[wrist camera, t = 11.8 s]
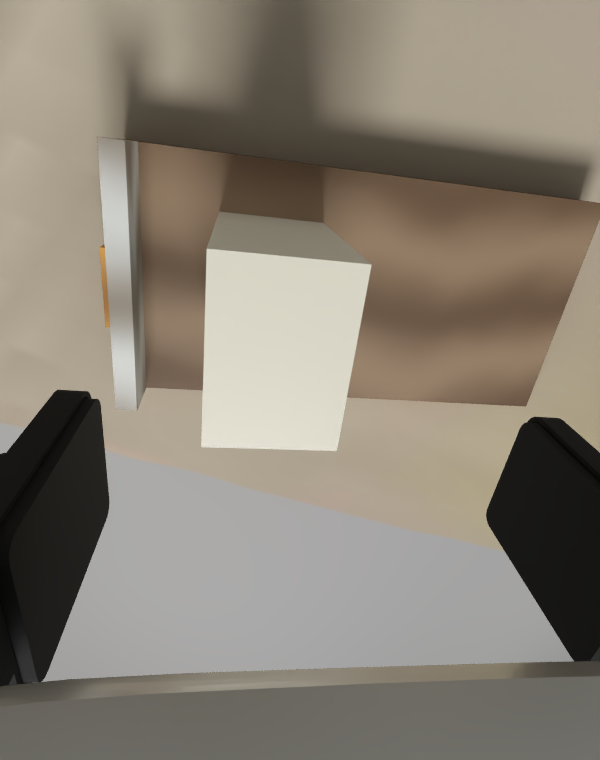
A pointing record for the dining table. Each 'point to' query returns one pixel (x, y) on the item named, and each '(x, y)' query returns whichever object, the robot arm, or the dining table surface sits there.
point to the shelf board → (366, 236)
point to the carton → (279, 332)
